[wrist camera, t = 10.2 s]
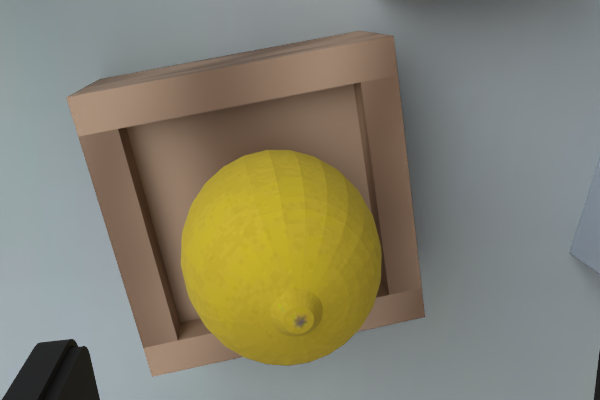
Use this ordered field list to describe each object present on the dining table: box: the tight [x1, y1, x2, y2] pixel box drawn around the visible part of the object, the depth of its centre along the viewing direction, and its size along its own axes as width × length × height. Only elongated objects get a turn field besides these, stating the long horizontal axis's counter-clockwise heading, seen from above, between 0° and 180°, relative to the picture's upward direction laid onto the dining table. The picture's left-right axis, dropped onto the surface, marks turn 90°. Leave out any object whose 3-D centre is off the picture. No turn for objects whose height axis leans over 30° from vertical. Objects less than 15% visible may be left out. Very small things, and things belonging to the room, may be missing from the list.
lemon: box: [181, 150, 382, 366], centre depth 16 cm, size 6×6×8 cm
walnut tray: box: [66, 31, 425, 377], centre depth 21 cm, size 10×10×5 cm
